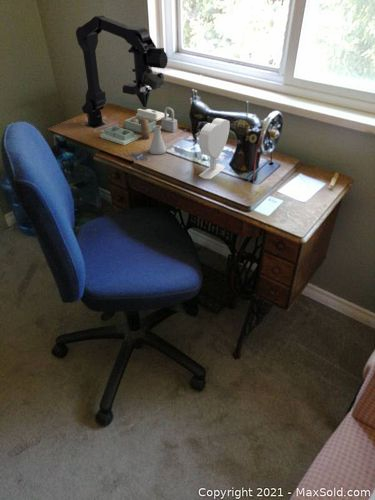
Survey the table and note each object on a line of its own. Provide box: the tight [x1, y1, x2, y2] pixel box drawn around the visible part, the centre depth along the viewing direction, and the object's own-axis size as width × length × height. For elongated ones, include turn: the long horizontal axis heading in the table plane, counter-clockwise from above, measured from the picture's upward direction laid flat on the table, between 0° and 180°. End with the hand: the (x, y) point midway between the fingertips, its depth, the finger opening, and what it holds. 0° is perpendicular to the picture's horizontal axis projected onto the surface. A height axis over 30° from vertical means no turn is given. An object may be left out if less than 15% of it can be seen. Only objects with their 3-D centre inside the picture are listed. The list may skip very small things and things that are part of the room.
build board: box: [99, 125, 140, 146], centre depth 160 cm, size 14×9×3 cm, turn 53°
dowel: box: [140, 117, 150, 141], centre depth 158 cm, size 3×3×8 cm
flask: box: [148, 125, 168, 155], centre depth 147 cm, size 7×7×10 cm
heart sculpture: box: [198, 117, 231, 180], centre depth 132 cm, size 16×5×18 cm, turn 148°
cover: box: [135, 108, 170, 122], centre depth 171 cm, size 12×8×3 cm
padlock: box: [160, 106, 178, 133], centre depth 166 cm, size 7×4×10 cm, turn 51°
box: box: [123, 115, 158, 134], centre depth 168 cm, size 12×8×4 cm, turn 53°
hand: (144, 106), depth 155 cm, fingers closed
